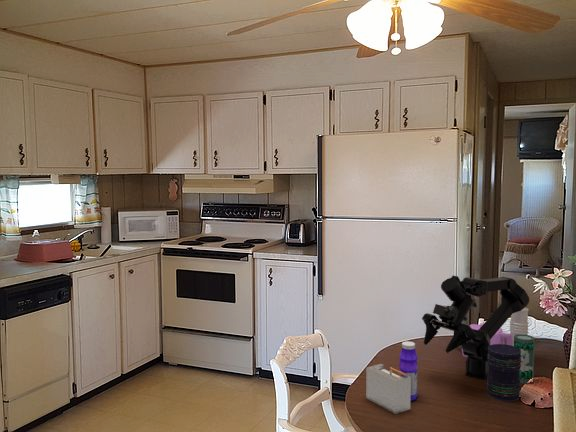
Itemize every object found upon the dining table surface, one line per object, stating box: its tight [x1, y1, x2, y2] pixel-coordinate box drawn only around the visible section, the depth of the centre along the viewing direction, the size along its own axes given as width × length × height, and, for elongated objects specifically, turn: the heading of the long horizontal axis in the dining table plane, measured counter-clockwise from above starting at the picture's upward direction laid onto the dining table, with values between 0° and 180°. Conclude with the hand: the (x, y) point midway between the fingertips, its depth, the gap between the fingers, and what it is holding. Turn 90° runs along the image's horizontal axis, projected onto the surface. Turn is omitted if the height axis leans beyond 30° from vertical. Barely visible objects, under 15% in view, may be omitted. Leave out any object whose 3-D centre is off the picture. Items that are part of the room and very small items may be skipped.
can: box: [514, 334, 536, 385], centre depth 182 cm, size 6×6×15 cm
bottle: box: [398, 341, 419, 401], centre depth 170 cm, size 7×6×17 cm
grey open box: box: [365, 363, 411, 415], centre depth 165 cm, size 6×13×10 cm, turn 33°
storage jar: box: [486, 343, 521, 402], centre depth 171 cm, size 10×10×15 cm
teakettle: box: [461, 322, 513, 359], centre depth 207 cm, size 17×17×12 cm
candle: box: [509, 307, 530, 346], centre depth 218 cm, size 7×7×15 cm
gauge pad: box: [381, 367, 406, 378], centre depth 165 cm, size 2×11×10 cm, turn 32°
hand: (435, 348), depth 175 cm, fingers open, 9 cm apart
